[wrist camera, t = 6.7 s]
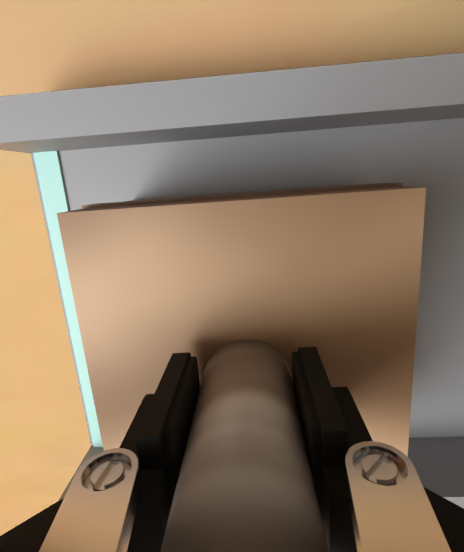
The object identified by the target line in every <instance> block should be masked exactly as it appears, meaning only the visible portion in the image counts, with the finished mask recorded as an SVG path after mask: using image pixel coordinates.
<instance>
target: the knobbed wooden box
mask: <svg viewBox="0 0 464 552" xmlns="http://www.w3.org/2000/svg"><path fill="white" fill-rule="evenodd" d="M425 198H426V187H407V186H402V183H377V184H363V185H359V184H354V185H340V186H326V187H312V188H298V189H284V190H270V191H256V192H242V193H228V194H214V195H200V196H186V197H172V198H158V199H144V200H131V201H125V202H111V203H97V204H90V205H83V206H82V209H78V210H72V211H67V212H61V213H57V217H58V222H59V228H60V233H61V238H62V243H63V248H64V253H65V258H66V263H67V268H68V273H69V278H70V283H71V288H72V293H73V298H74V303H75V308H76V314H77V319H78V324H79V329H80V334H81V339H82V344H83V349H84V354H85V359H86V364H87V369H88V374H89V379H90V384H91V389H92V394H93V400H94V405H95V410H96V415H97V420H98V425H99V430H100V435H101V440H102V445H103V450H104V451H105V450H109V449H113V448H119V447H120V445H121V443H122V441H123V439H124V437H125V435H126V433H127V431H128V429H129V427H130V425H131V423H132V421H133V419H134V416H135V414H136V412H137V410H138V408H139V406H140V404H141V402H142V400H143V398H144V397H145V395H146V394H154V393H155V391H156V389H157V387H158V385H159V382H160V380H161V378H162V376H163V373H164V371H165V369H166V367H167V364H168V362H169V360H170V358H171V356H172V354H173V353H187V352H190V354H191V357H197V363H198V372H199V381H200V390H199V394H198V398H197V402H196V406H195V411H194V415H193V419H192V423H191V427H190V431H189V435H188V439H187V444H186V448H185V452H184V456H183V460H182V464H181V468H180V473H179V477H178V481H177V485H176V489H175V493H174V497H173V501H172V506H171V510H170V514H169V518H168V522H167V526H166V530H165V535H164V539H163V543H162V547H161V552H328V547H327V543H326V538H325V533H324V528H323V524H322V519H321V514H320V509H319V505H318V500H317V495H316V490H315V486H314V481H313V477H312V472H311V467H310V463H309V458H308V453H307V448H306V444H305V439H304V434H303V429H302V424H301V420H300V415H299V410H298V405H297V400H296V396H295V391H294V386H293V371H292V352H298V347H316V348H317V351H318V353H319V356H320V359H321V361H322V364H323V366H324V369H325V371H326V374H327V377H328V379H329V382H330V384H331V387H345V386H346V387H348V389H349V391H350V393H351V395H352V397H353V399H354V402H355V404H356V406H357V408H358V410H359V412H360V414H361V417H362V419H363V421H364V423H365V425H366V427H367V429H368V432H369V434H370V436H371V438H372V440H373V441H375V442H381V443H385V444H388V445H390V446H393V447H395V448H396V449H398V450H400V451H402V452H403V453H404V454H405V455H406V456H407V457H408V444H409V429H410V415H411V400H412V386H413V371H414V357H415V343H416V328H417V314H418V299H419V285H420V270H421V256H422V242H423V227H424V213H425Z"/></svg>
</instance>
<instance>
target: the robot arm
mask: <svg viewBox="0 0 464 552" xmlns="http://www.w3.org/2000/svg"><path fill="white" fill-rule="evenodd" d="M292 371H293V386H294V391H295V396H296V400H297V405H298V410H299V415H300V420H301V424H302V429H303V434H304V439H305V444H306V448H307V453H308V458H309V463H310V467H311V472H312V477H313V481H314V486H315V490H316V495H317V500H318V505H319V509H320V514H321V519H322V524H323V528H324V533H325V538H326V543H327V547H328V552H464V508H462V507H460V506H458V505H456V504H454V503H453V502H451V501H449V500H447V499H445V498H443V497H441V496H440V495H438V494H436V493H434V492H432V491H430V490H429V489H427V488H425V487H423V485H422V483H421V480H420V478H419V476H418V474H417V471H416V469H415V467H414V465H413V463H412V462H411V460H410V459H409V458H408V457H407V456H406V455H405V454H404V453H403V452H402V451H400V450H398V449H396V448H395V447H393V446H390V445H388V444H385V443H381V442H375V441H373V440H372V438H371V436H370V434H369V432H368V429H367V427H366V425H365V423H364V421H363V419H362V417H361V414H360V412H359V410H358V408H357V406H356V404H355V402H354V399H353V397H352V395H351V393H350V391H349V389H348V387H346V386H345V387H331V384H330V382H329V379H328V377H327V374H326V371H325V369H324V366H323V364H322V361H321V359H320V356H319V353H318V351H317V348H316V347H298V352H292ZM199 390H200V381H199V372H198V363H197V357H191V354H190V352H187V353H173V354H172V356H171V358H170V360H169V362H168V364H167V367H166V369H165V371H164V373H163V376H162V378H161V380H160V382H159V385H158V387H157V389H156V391H155V393H154V394H146V395H145V397H144V398H143V400H142V402H141V404H140V406H139V408H138V410H137V412H136V414H135V416H134V419H133V421H132V423H131V425H130V427H129V429H128V431H127V433H126V435H125V437H124V439H123V441H122V443H121V445H120V447H119V448H113V449H109V450H105V451H102V452H100V453H97V454H95V455H94V456H92V457H91V458H89V459H88V460H87V461H86V462H84V463H83V464H82V465H81V466H80V468H79V469H78V471H77V472H76V474H75V476H74V478H73V480H72V482H71V484H70V487H69V489H68V491H67V493H66V495H65V497H64V498H63V499H61V500H60V501H58V502H56V503H55V504H53V505H51V506H50V507H48V508H46V509H45V510H43V511H41V512H40V513H38V514H36V515H35V516H33V517H31V518H30V519H28V520H26V521H25V522H23V523H21V524H20V525H18V526H16V527H15V528H13V529H11V530H10V531H8V532H6V533H5V534H3V535H1V536H0V552H161V547H162V543H163V539H164V535H165V530H166V526H167V522H168V518H169V514H170V510H171V506H172V501H173V497H174V493H175V489H176V485H177V481H178V477H179V473H180V468H181V464H182V460H183V456H184V452H185V448H186V444H187V439H188V435H189V431H190V427H191V423H192V419H193V415H194V411H195V406H196V402H197V398H198V394H199Z"/></svg>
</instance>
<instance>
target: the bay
mask: <svg viewBox="0 0 464 552" xmlns="http://www.w3.org/2000/svg"><path fill="white" fill-rule="evenodd" d="M0 150H8V151H16V152H24V153H31V156H32V161H33V166H34V171H35V176H36V180H37V185H38V190H39V195H40V200H41V205H42V209H43V214H44V219H45V224H46V229H47V233H48V238H49V243H50V248H51V253H52V258H53V262H54V267H55V272H56V277H57V282H58V287H59V291H60V296H61V301H62V306H63V311H64V315H65V320H66V325H67V330H68V335H69V340H70V344H71V349H72V354H73V359H74V364H75V368H76V373H77V378H78V383H79V388H80V393H81V397H82V402H83V407H84V412H85V417H86V422H87V426H88V431H89V436H90V441H91V447H90V449H89V450H88V452H87V454H86V456H85V457H84V459H83V461H82V462H81V464H80V466H81V465H82V464H83V463H84V462H86V461H87V460H88V459H89V458H91V457H92V456H94V455H95V454H97V453H100V452H102V451H104V450H103V445H102V440H101V435H100V430H99V425H98V420H97V415H96V410H95V405H94V400H93V394H92V389H91V384H90V379H89V374H88V369H87V364H86V359H85V354H84V349H83V344H82V339H81V334H80V329H79V324H78V319H77V314H76V308H75V303H74V298H73V293H72V288H71V283H70V278H69V273H68V268H67V263H66V258H65V253H64V248H63V243H62V238H61V233H60V228H59V222H58V217H57V213H61V212H67V211H72V210H78V209H82V206H83V205H90V204H97V203H111V202H125V201H131V200H144V199H158V198H172V197H186V196H200V195H214V194H228V193H242V192H256V191H270V190H284V189H298V188H312V187H326V186H340V185H354V184H359V185H363V184H377V183H402V186H407V187H426V198H425V213H424V227H423V242H422V256H421V270H420V285H419V299H418V314H417V328H416V343H415V357H414V371H413V386H412V400H411V415H410V429H409V444H408V458H409V459H410V460H411V462H412V463H413V465H414V467H415V469H416V471H417V474H418V476H419V478H420V480H421V483H422V485H423V487H425V488H427V489H429V490H430V491H432V492H434V493H436V494H438V495H440V496H441V497H443V498H445V499H447V500H449V501H451V502H453V503H454V504H456V505H458V506H460V507H462V508H464V53H455V54H445V55H434V56H423V57H413V58H402V59H391V60H381V61H370V62H359V63H349V64H338V65H328V66H317V67H306V68H296V69H285V70H274V71H264V72H253V73H242V74H232V75H221V76H211V77H200V78H189V79H179V80H168V81H157V82H147V83H136V84H126V85H115V86H104V87H94V88H83V89H72V90H62V91H51V92H40V93H30V94H19V95H9V96H0ZM80 466H79V467H78V469H79V468H80ZM78 469H77V471H78ZM77 471H76V472H77ZM76 472H75V474H76ZM75 474H74V476H75ZM74 476H73V477H72V479H71V481H70V482H69V484H68V486H67V487H66V489H65V491H64V492H63V494H62V496H61V497H60V499H59V501H60V500H61V499H63V498H64V497H65V495H66V493H67V491H68V489H69V487H70V484H71V482H72V480H73V478H74Z"/></svg>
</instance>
